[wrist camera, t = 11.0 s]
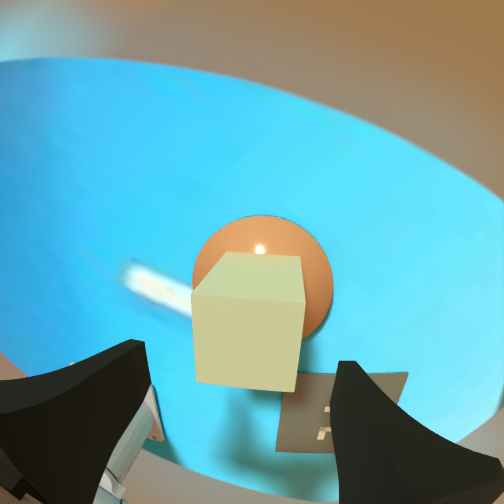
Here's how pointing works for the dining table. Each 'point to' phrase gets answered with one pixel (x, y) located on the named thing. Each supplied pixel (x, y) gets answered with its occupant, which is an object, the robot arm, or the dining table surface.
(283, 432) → the brown tile
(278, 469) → the dining table surface
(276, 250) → the orange disc
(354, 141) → the dining table surface
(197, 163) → the dining table surface
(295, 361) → the block
